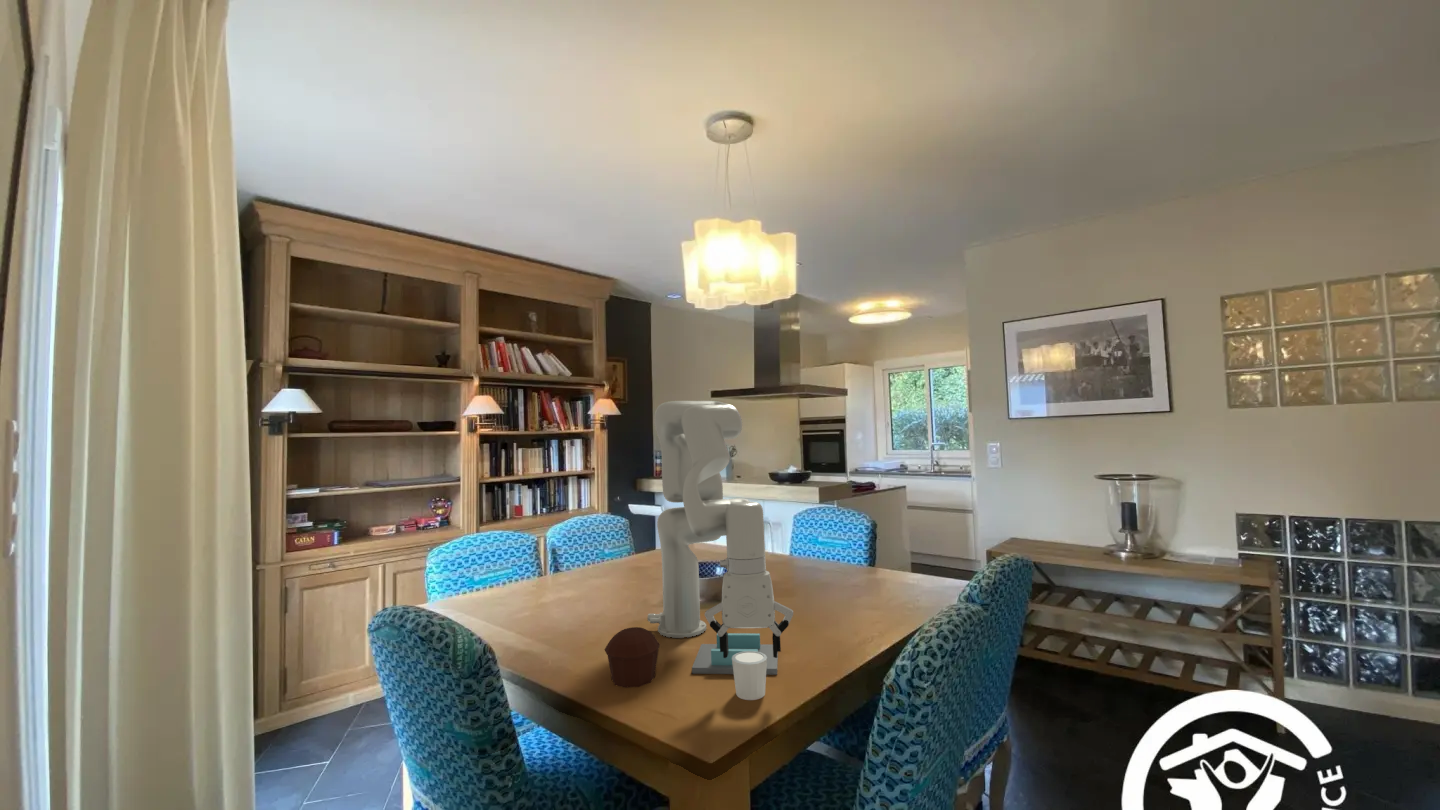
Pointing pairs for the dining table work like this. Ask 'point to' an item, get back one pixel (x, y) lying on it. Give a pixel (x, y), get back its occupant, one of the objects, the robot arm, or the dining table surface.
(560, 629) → the dining table surface
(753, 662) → the white cylinder
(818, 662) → the dining table surface
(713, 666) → the clip holder
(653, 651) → the muffin
